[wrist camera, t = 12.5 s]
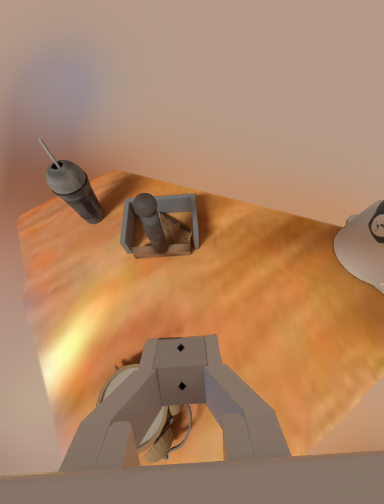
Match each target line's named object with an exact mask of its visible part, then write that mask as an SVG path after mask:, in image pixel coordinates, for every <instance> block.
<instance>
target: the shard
mask: <svg viewBox="0 0 384 504" xmlns="http://www.w3.org/2000/svg"><path fill="white" fill-rule="evenodd" d="M160 221H161V225H162V228H163V231H164V235H165V238H166V242H167V245H172V244H186V243H189V244H190V238H191V236H192V235H193V232H192V231H191V230H189V229H188V228H186V227H184V226H183V225H181V224H180V223H178V222H177V221H175V220H174V219H172V218H170V217H168V216H166V215H165V214H164V213H162V212H160Z"/></svg>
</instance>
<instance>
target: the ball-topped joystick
mask: <svg viewBox="0 0 384 504" xmlns="http://www.w3.org/2000/svg"><path fill="white" fill-rule="evenodd" d="M133 208H134V211H135V212H136V214H137V215H139V217H140V220H141V222H142V224H143V227H144V229H145V231H146V233H147V236H148V238H149V240H150V243H151V245H152V246H143V247H132V254H133V255H134V257H135V258H136V259H137V258H151V257H165V256H179V255H190V244H189V243H186V244H172V245H167V242H166V238H165V235H164V231H163V228H162V225H161V221H160V218H159V214H158V211H157V201H156V199H155V198H154V197H153V196H152V195H151V194H148V193H141V194H139V195H137V196H136V197H135V199H134V201H133Z"/></svg>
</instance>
